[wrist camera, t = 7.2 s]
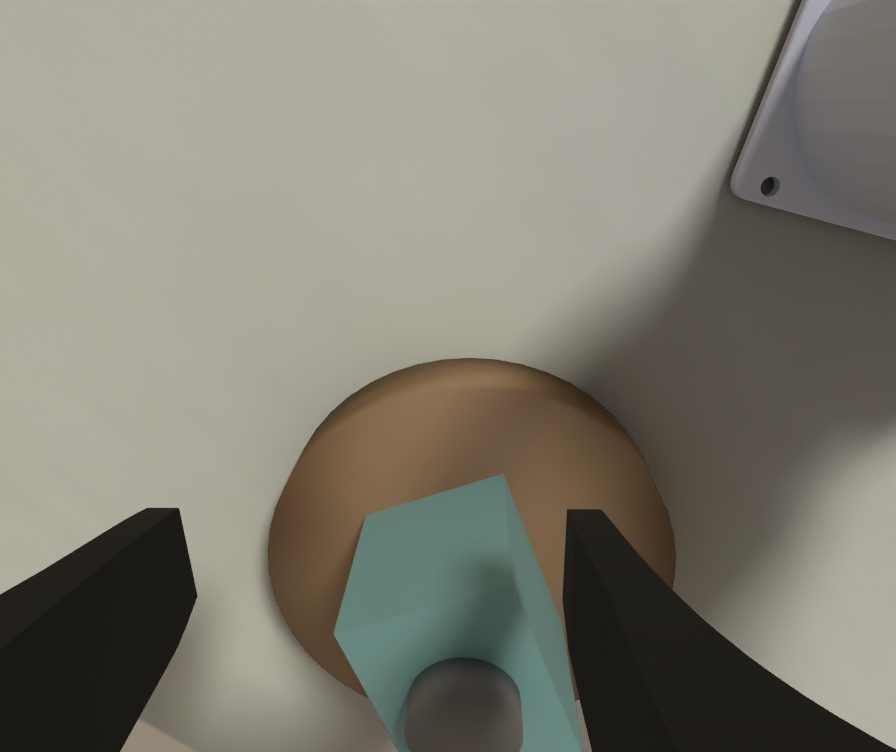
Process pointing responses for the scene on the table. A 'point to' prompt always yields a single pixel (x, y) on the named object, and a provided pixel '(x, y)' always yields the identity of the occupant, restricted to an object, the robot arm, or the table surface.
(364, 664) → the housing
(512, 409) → the stand
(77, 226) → the table surface
